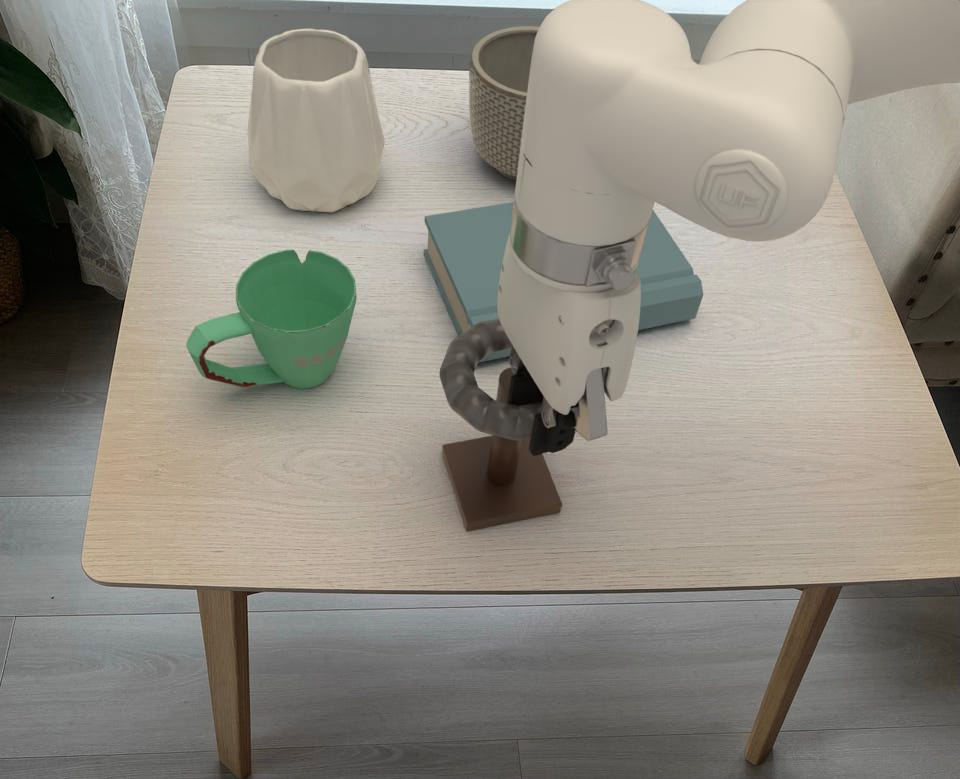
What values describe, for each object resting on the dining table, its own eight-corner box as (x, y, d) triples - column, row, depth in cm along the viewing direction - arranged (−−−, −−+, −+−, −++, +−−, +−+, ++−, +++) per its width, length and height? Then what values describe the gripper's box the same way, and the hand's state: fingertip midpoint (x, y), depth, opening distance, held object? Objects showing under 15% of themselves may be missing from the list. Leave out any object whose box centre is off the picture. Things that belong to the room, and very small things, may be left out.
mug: (325, 314, 90) (319, 234, 82) (380, 381, 85) (379, 302, 78) (179, 376, 84) (158, 296, 76) (229, 452, 79) (211, 374, 71)
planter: (606, 189, 105) (628, 86, 95) (491, 214, 101) (502, 109, 91) (553, 119, 113) (568, 17, 103) (444, 139, 109) (449, 35, 99)
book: (625, 220, 102) (634, 182, 98) (693, 324, 93) (705, 287, 89) (423, 254, 96) (424, 216, 93) (472, 369, 87) (476, 332, 83)
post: (531, 436, 82) (550, 331, 72) (560, 512, 78) (585, 411, 67) (441, 452, 81) (448, 347, 70) (466, 531, 76) (477, 431, 66)
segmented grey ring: (560, 324, 74) (565, 302, 72) (608, 431, 67) (614, 410, 66) (425, 344, 72) (426, 322, 70) (461, 458, 65) (463, 436, 63)
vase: (378, 229, 98) (377, 101, 87) (241, 219, 98) (221, 90, 86) (390, 147, 107) (390, 22, 96) (264, 138, 107) (249, 11, 95)
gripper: (712, 309, 50) (641, 502, 64) (570, 132, 59) (536, 335, 73) (586, 345, 47) (541, 537, 61) (459, 155, 57) (445, 360, 71)
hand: (539, 426), depth 67 cm, fingers closed on segmented grey ring, 3 cm apart
